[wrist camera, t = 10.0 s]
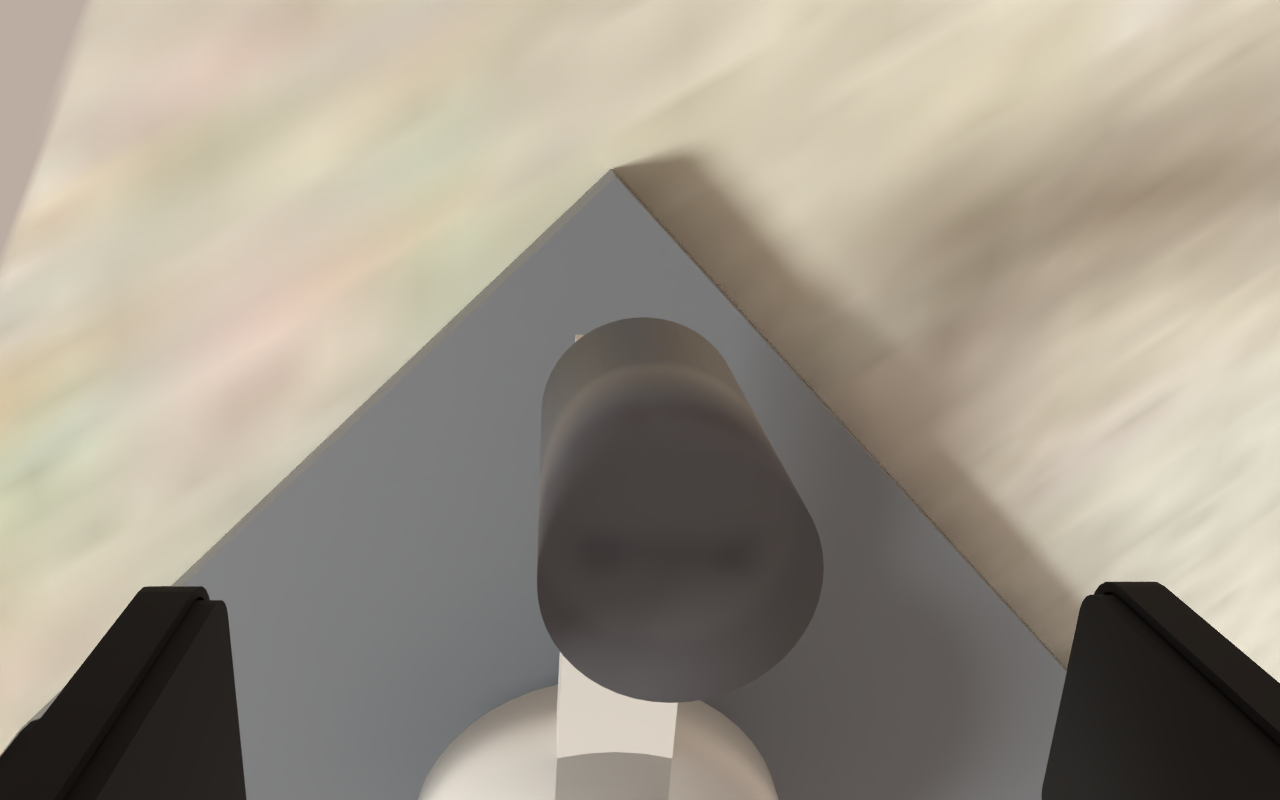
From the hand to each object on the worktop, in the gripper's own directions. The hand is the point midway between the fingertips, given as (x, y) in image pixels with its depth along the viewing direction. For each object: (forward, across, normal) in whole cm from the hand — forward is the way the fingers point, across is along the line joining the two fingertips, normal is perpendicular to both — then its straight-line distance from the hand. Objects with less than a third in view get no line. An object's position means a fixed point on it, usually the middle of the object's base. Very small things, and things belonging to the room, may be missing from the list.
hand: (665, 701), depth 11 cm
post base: (+15, 0, +11) cm, 19 cm away
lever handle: (+10, 0, +7) cm, 13 cm away
